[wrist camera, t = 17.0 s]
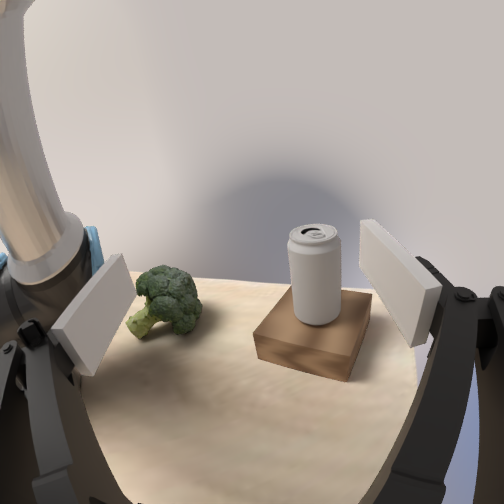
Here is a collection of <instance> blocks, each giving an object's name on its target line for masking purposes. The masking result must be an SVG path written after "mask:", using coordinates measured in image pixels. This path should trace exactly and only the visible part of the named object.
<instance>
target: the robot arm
mask: <svg viewBox="0 0 504 504" xmlns="http://www.w3.org/2000/svg"><path fill="white" fill-rule="evenodd" d="M34 1H35V0H0V238H1V240H2V241H3V243H4V245H5V246H6V248H7V250H8V251H9V254H8V256H6V254H5V253H1V254H0V504H133V503H132V502H131V501H129V500H128V499H127V498H126V497H125V495H124V494H123V493H122V491H121V489H120V488H119V486H118V484H117V482H116V480H115V478H114V476H113V474H112V472H111V470H110V468H109V466H108V464H107V462H106V460H105V457H104V455H103V453H102V451H101V448H100V446H99V444H98V441H97V439H96V436H95V434H94V431H93V428H92V426H91V423H90V420H89V418H88V415H87V412H86V409H85V406H84V403H83V400H82V396H81V393H80V390H79V388H80V384H81V375H85V376H94V375H95V373H96V370H97V368H98V366H99V364H100V362H101V360H102V358H103V356H104V354H105V352H106V350H107V348H108V347H109V345H110V343H111V341H112V339H113V337H114V335H115V333H116V331H117V329H118V328H119V326H120V324H121V322H122V320H123V318H124V317H125V315H126V313H127V311H128V309H129V308H130V306H131V304H132V302H133V301H134V299H135V297H136V295H137V292H136V290H135V287H134V285H133V282H132V279H131V277H130V274H129V272H128V269H127V266H126V263H125V261H124V258H123V255H122V254H117V255H111V256H110V257H109V258H108V259H107V261H106V262H105V263H104V259H103V255H102V250H101V246H100V241H99V237H98V232H97V229H96V227H94V226H90V227H89V226H86V227H85V228H83V225H82V223H81V221H80V219H79V218H78V217H77V216H76V215H74V214H73V213H70V212H65V211H64V210H63V208H62V205H61V202H60V200H59V197H58V194H57V192H56V189H55V186H54V183H53V180H52V177H51V174H50V171H49V168H48V165H47V162H46V158H45V155H44V152H43V148H42V145H41V141H40V137H39V134H38V129H37V125H36V120H35V116H34V111H33V106H32V101H31V96H30V90H29V83H28V77H27V68H26V59H25V47H24V27H23V26H24V24H23V16H24V14H25V12H26V11H27V9H28V8H29V7H30V5H31V4H32V3H33V2H34ZM359 267H360V268H361V270H362V271H363V273H364V274H365V276H366V277H367V279H368V280H369V282H370V283H371V285H372V286H373V288H374V289H375V291H376V293H377V294H378V296H379V297H380V299H381V300H382V302H383V304H384V305H385V307H386V308H387V310H388V312H389V313H390V315H391V316H392V318H393V320H394V321H395V323H396V325H397V326H398V328H399V330H400V331H401V333H402V335H403V336H404V338H405V340H406V342H407V343H408V345H409V347H410V348H412V347H415V346H418V345H421V344H425V343H426V341H427V338H428V335H429V332H430V333H431V334H432V336H433V338H434V340H433V343H432V345H431V348H430V351H429V353H428V356H427V358H428V360H427V363H426V366H425V369H424V372H423V376H422V379H421V381H420V384H419V387H418V390H417V392H416V395H415V398H414V400H413V403H412V405H411V408H410V410H409V413H408V415H407V417H406V420H405V422H404V424H403V427H402V429H401V431H400V433H399V435H398V437H397V439H396V441H395V443H394V445H393V447H392V449H391V451H390V453H389V455H388V457H387V459H386V461H385V463H384V464H383V466H382V468H381V470H380V471H379V473H378V475H377V477H376V478H375V480H374V482H373V483H372V485H371V486H370V488H369V490H368V491H367V493H366V494H365V495H364V497H363V498H362V499H361V501H360V502H359V503H358V504H441V503H442V501H443V498H444V495H445V491H446V486H445V484H444V478H445V475H446V472H447V470H448V467H449V464H450V462H451V459H452V456H453V453H454V450H455V447H456V444H457V441H458V437H459V434H460V430H461V427H462V423H463V419H464V415H465V411H466V407H467V402H468V397H469V392H470V387H471V381H472V375H473V368H474V360H475V367H476V375H477V385H478V398H479V419H480V420H479V422H480V423H479V426H480V427H479V458H478V470H477V479H476V486H475V493H474V499H473V504H504V287H503V286H496V287H494V288H493V289H492V292H491V294H490V297H489V298H477V296H476V294H475V293H474V292H473V291H471V290H470V289H467V288H465V287H454V286H453V285H452V284H451V283H450V282H449V281H448V280H447V279H446V278H445V277H444V276H443V275H442V274H441V273H439V271H438V270H437V269H436V268H434V266H433V265H432V264H431V263H430V262H429V261H427V260H425V259H423V258H422V257H420V256H419V257H414V256H413V255H412V254H411V253H410V252H409V251H408V250H407V249H406V248H405V247H404V246H402V245H401V244H400V243H399V242H398V241H397V240H396V239H395V238H394V237H393V236H392V235H391V234H389V233H388V232H387V231H386V230H385V229H384V228H383V227H382V226H381V225H379V224H378V223H377V222H376V221H375V220H374V219H368V220H361V221H360V258H359ZM80 374H81V375H80ZM138 504H141V503H138Z"/></svg>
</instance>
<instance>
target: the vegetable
mask: <svg viewBox="0 0 504 504" xmlns="http://www.w3.org/2000/svg"><path fill="white" fill-rule="evenodd" d="M136 281H137V282H136V289H137V290H136V291H137V295H138V296H140V295H141V297H142V294H143V295H144V296H146V302H145V305H146V306H145V307H144V309H142V310H141V311H138V312H137V313H136V314H135V315H134V316H133V317H131V316H130V317H129V320H128V321H127V322H126V325H127V327H128V328H129V330H130V331H131V333H132V334H133V335H135V336H136V337H137V338H138V339H140V338H142V337H143V336H144V335H148V331H149V330H150V329H151V328H152V326H153V325H154V324H155V323H156V322H159V321H163V322H167V321H170V322H171V323H172V326H173V332H174V333H175V334H177V335H178V334H184V333H187V332H189V331H192V330H193V328H194V327H195V320H197V319H198V318H199V315H200V313H201V310H202V304H201V302H200V300H199V299H198V298H197V296H198V295H197V290H196V286H195V283H194V281H193V279H192V277H191V276H190V274H187V273H186V272H184V271H182V270H179V269H177V268H170V267H168V266H166V265H162V266H158V267H155V268H152V269H150V270H149V272H145V273H143V274H141V275H140V276H139V278H138V279H137V280H136Z"/></svg>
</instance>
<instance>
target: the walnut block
mask: <svg viewBox="0 0 504 504" xmlns="http://www.w3.org/2000/svg"><path fill="white" fill-rule="evenodd" d="M371 300H372V294H369V293H362V292H355V291H347V290H341V311H340V313H339V315H338V316H337V318H335V319H334V320H333V321H331V322H329V323H327V324H324V325H310V324H307V323H304V322H302V321H300V320H299V319H298V318H297V317H296V316H295V313H294V306H293V295H292V285H291V286H290V288H289V289H288V290H287V292H286V293H285V294H284V295H283V297H282V298H281V299H280V300H279V302H278V303H277V304H276V305H275V307H274V308H273V309H272V310H271V311H270V313H269V314H268V315H267V316H266V318H265V319H264V320H263V321H262V322H261V324H260V325H259V326H258V327H257V328H256V330H255V331H254V332H253V337H254V341H255V346H256V351H257V355H258V359H261V360H265V361H268V362H271V363H274V364H278V365H281V366H285V367H288V368H292V369H295V370H299V371H303V372H306V373H310V374H314V375H318V376H322V377H326V378H330V379H335V380H339V381H343V382H347V381H348V378H349V376H350V373H351V371H352V368H353V365H354V363H355V360H356V357H357V355H358V352H359V349H360V347H361V344H362V341H363V338H364V335H365V332H366V329H367V326H368V323H369V320H370V311H371Z"/></svg>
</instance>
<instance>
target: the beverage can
mask: <svg viewBox="0 0 504 504" xmlns="http://www.w3.org/2000/svg"><path fill="white" fill-rule="evenodd" d="M289 236H290V240H289V241H288V243H287V247H288V256H289V266H290V275H291V285H292V295H293V306H294V313H295V316H296V317H297V318H298V319H299V320H300V321H302V322H304V323H307V324H310V325H324V324H327V323H329V322H331V321H333V320H334V319H335V318H337V316H338V315H339V313H340V311H341V240H340V238H339V237H338V236H337V230H336V228H334V227H332V226H330V225H325V224H309V225H303V226H300V227H297V228H295V229H293V230H292V231H291V232H290V234H289Z"/></svg>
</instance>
